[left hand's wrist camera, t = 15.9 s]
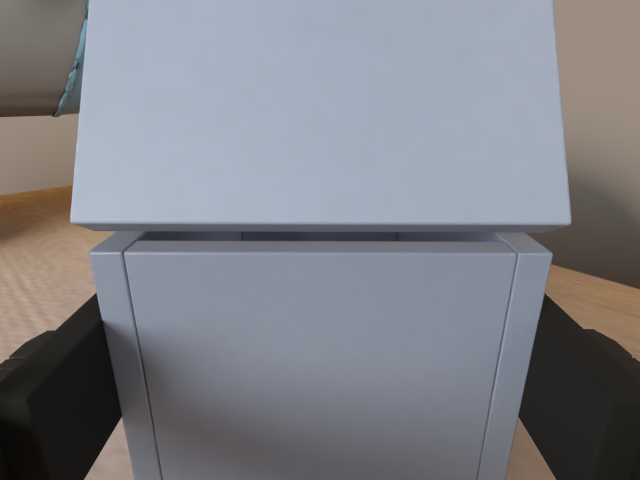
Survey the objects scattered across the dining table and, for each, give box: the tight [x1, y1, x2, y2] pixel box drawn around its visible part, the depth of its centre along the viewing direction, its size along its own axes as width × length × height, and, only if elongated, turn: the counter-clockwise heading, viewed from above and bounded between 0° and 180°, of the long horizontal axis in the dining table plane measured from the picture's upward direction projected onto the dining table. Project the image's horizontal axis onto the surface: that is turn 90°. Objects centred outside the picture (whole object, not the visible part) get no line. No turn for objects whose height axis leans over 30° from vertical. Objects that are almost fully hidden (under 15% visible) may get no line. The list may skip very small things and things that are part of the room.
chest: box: [89, 231, 553, 480], centre depth 17 cm, size 13×10×10 cm
